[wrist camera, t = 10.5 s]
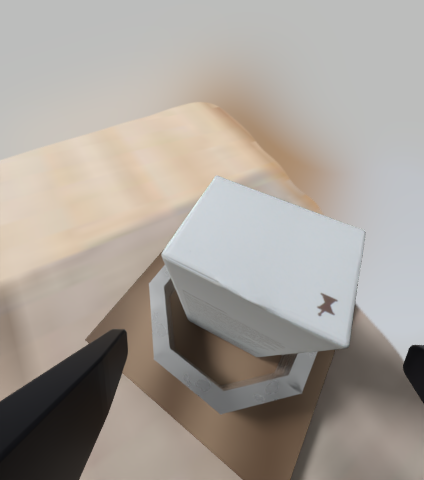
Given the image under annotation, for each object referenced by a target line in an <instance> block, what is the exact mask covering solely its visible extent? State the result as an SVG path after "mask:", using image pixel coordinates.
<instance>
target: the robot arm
mask: <svg viewBox="0 0 424 480" xmlns="http://www.w3.org/2000/svg"><path fill="white" fill-rule="evenodd" d="M127 356H128V341H127V332H126V330H125V329H111V330H110V331H108V332H107V333H105V334H103V335H102V336H100V337H99V338H97V339H96V340H94V341H93V342H91V343H90V344H88V345H87V346H85V347H83V348H82V349H80V350H79V351H77V352H76V353H74V354H73V355H71V356H70V357H68V358H66V359H65V360H63V361H62V362H60V363H59V364H57V365H56V366H54V367H53V368H51V369H49V370H48V371H46V372H45V373H43V374H42V375H40V376H39V377H37V378H36V379H34V380H32V381H31V382H29V383H28V384H26V385H25V386H23V387H22V388H20V389H19V390H17V391H15V392H14V393H12V394H11V395H9V396H8V397H6V398H5V399H3V400H2V401H0V480H79V479H80V476H81V474H82V472H83V470H84V467H85V465H86V463H87V461H88V458H89V456H90V454H91V452H92V449H93V447H94V445H95V443H96V440H97V438H98V436H99V434H100V431H101V429H102V427H103V425H104V422H105V420H106V417H107V415H108V413H109V410H110V407H111V404H112V401H113V398H114V395H115V392H116V389H117V387H118V384H119V381H120V378H121V375H122V372H123V369H124V366H125V363H126V360H127ZM403 370H404V373H405V375H406V376H407V378H408V380H409V381H410V383H411V384H412V386H413V388H414V389H415V391H416V392H417V394H418V395H419V397H420V399H421V400H422V402H423V403H424V345H412V346H411V347H410V348H409V350H408V353H407V356H406V358H405V361H404V364H403Z"/></svg>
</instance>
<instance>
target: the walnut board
mask: <svg viewBox="0 0 424 480" xmlns="http://www.w3.org/2000/svg"><path fill="white" fill-rule="evenodd" d="M162 252H163V251H162ZM162 252H161V253H160V255H159V256H158V257H157V258H156V259H155V260H154V261H153V263H152V264H151V265H150V266H149V267H148V268H147V269H146V271H145V272H144V273H143V274H142V275H141V276H140V277H139V279H138V280H137V281H136V282H135V283H134V284H133V285H132V287H131V288H130V289H129V290H128V291H127V292H126V293H125V295H124V296H123V297H122V298H121V299H120V300H119V302H118V303H117V304H116V305H115V306H114V307H113V308H112V310H111V311H110V312H109V313H108V314H107V315H106V316H105V318H104V319H103V320H102V321H101V322H100V323H99V324H98V326H97V327H96V328H95V329H94V330H93V331H92V332H91V334H90V335H89V336H88V337H87V338H86V339H85V340H86V341H87V342H88V343H89V344H90V343H91V342H93V341H94V340H96V339H97V338H99V337H100V336H102V335H103V334H105V333H107V332H108V331H110V330H111V329H125V330H126V332H127V341H128V356H127V360H126V363H125V366H124V369H123V372H122V373H123V374H124V375H125V376H126V377H128V378H129V379H130V380H131V381H132V382H133V383H134V384H135V385H137V386H138V387H139V388H140V389H141V390H142V391H143V392H145V393H146V394H147V395H148V396H149V397H150V398H151V399H152V400H154V401H155V402H156V403H157V404H158V405H159V406H160V407H161V408H163V409H164V410H165V411H166V412H167V413H168V414H169V415H171V416H172V417H173V418H174V419H175V420H176V421H177V422H178V423H180V424H181V425H182V426H183V427H184V428H185V429H186V430H187V431H189V432H190V433H191V434H192V435H193V436H194V437H195V438H196V439H198V440H199V441H200V442H201V443H202V444H203V445H204V446H206V447H207V448H208V449H209V450H210V451H211V452H212V453H213V454H215V455H216V456H217V457H218V458H219V459H220V460H221V461H222V462H224V463H225V464H226V465H227V466H228V467H229V468H230V469H232V470H233V471H234V472H235V473H236V474H237V475H238V476H239V477H241V478H242V479H243V480H290V479H291V476H292V473H293V470H294V467H295V464H296V461H297V459H298V456H299V453H300V450H301V447H302V444H303V441H304V438H305V436H306V433H307V430H308V427H309V424H310V421H311V418H312V416H313V413H314V410H315V407H316V404H317V401H318V398H319V395H320V393H321V390H322V387H323V384H324V381H325V378H326V375H327V372H328V370H329V367H330V364H331V361H332V358H333V355H334V352H335V350H326V351H318V352H317V355H316V357H315V360H314V362H313V365H312V368H311V370H310V373H309V375H308V378H307V381H306V383H305V386H304V389H303V391H302V394H298V395H294V396H290V397H286V398H282V399H278V400H274V401H270V402H267V403H263V404H259V405H255V406H251V407H247V408H243V409H240V410H236V411H232V412H228V413H224V414H222V415H221V414H219V413H218V412H217V411H216V410H215V409H213V408H212V407H211V406H210V405H209V404H207V403H206V402H205V401H204V400H203V399H201V398H200V397H199V396H198V395H197V394H195V393H194V392H193V391H192V390H190V389H189V388H188V387H187V386H186V385H184V384H183V383H182V382H181V381H180V380H178V379H177V378H176V377H175V376H173V375H172V374H171V373H170V372H169V371H167V370H166V369H165V368H164V367H163V366H161V365H160V364H159V363H158V362H157V361H155V360H154V353H153V337H152V322H151V306H150V291H149V283H150V282H151V281H152V279H153V278H154V277H155V276H156V275H157V273H158V272H159V271H160V270H161V269H162V267H163V266H164V265H165V263H164V261H163V258H162V256H161V254H162ZM357 286H358V285H357ZM170 304H171V314H172V323H173V332H174V342H175V350H176V351H177V352H178V353H180V354H181V355H182V356H184V357H185V358H186V359H187V360H189V361H190V362H191V363H192V364H194V365H195V366H196V367H197V368H199V369H200V370H201V371H203V372H204V373H205V374H206V375H208V376H209V377H210V378H211V379H213V380H214V381H215V382H217V383H218V384H219V385H220V386H221V385H225V384H230V383H234V382H238V381H242V380H246V379H250V378H254V377H258V376H263V375H267V374H271V373H275V371H276V368H277V366H278V364H279V362H280V360H281V357H282V355H274V356H266V357H255V356H253V355H251V354H250V353H248V352H246V351H244V350H242V349H240V348H238V347H237V346H235V345H233V344H231V343H229V342H227V341H225V340H223V339H222V338H220V337H218V336H216V335H214V334H212V333H211V332H209V331H207V330H205V329H203V328H201V327H199V326H198V325H196V324H194V323H192V322H190V321H189V320H188V319H187V316H186V314H185V311H184V309H183V306H182V304H181V301H180V299H179V297H178V294H177V292H176V290H175V291H174V292H173V294H172V295H171V296H170Z"/></svg>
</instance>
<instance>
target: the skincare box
mask: <svg viewBox="0 0 424 480" xmlns="http://www.w3.org/2000/svg"><path fill="white" fill-rule="evenodd" d="M364 241H365V231H364V230H362V229H360V228H357V227H354V226H351V225H349V224H346V223H343V222H340V221H337V220H335V219H332V218H329V217H327V216H324V215H321V214H319V213H316V212H313V211H310V210H308V209H305V208H302V207H300V206H297V205H294V204H292V203H289V202H286V201H284V200H281V199H278V198H276V197H273V196H270V195H268V194H265V193H262V192H259V191H257V190H254V189H251V188H249V187H246V186H243V185H241V184H238V183H235V182H233V181H230V180H227V179H225V178H222V177H220V176H215V177H214V179H213V180H212V182H211V183H210V185H209V186H208V188H207V189H206V190H205V192H204V193H203V195H202V196H201V198H200V199H199V200H198V202H197V203H196V205H195V206H194V207H193V209H192V210H191V212H190V213H189V215H188V216H187V217H186V219H185V220H184V222H183V223H182V224H181V226H180V227H179V229H178V230H177V232H176V233H175V234H174V236H173V237H172V239H171V240H170V242H169V243H168V245H167V246H166V247H165V249H164V250H163V252H162V254H161V256H162V258H163V261H164V263H165V266H166V268H167V271H168V273H169V275H170V277H171V280H172V282H173V285H174V287H175V289H176V292H177V294H178V297H179V299H180V301H181V304H182V306H183V309H184V311H185V314H186V316H187V319H188V320H189V321H190V322H192V323H194V324H196V325H198V326H199V327H201V328H203V329H205V330H207V331H209V332H211V333H212V334H214V335H216V336H218V337H220V338H222V339H223V340H225V341H227V342H229V343H231V344H233V345H235V346H237V347H238V348H240V349H242V350H244V351H246V352H248V353H250V354H251V355H253V356H255V357H266V356H274V355H284V354H295V353H305V352H317V351H326V350H335V349H343V348H347V347H349V345H350V337H351V330H352V322H353V314H354V307H355V300H356V292H357V285H358V279H359V273H360V267H361V262H362V256H363V249H364Z"/></svg>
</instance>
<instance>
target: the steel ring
mask: <svg viewBox="0 0 424 480" xmlns="http://www.w3.org/2000/svg"><path fill="white" fill-rule="evenodd" d="M175 290H176V289H175V287H174V285H173V282H172V280H171V277H170V275H169V273H168V271H167V268H166V266H165V265H164V266H163V267H162V269H161V270H160V271H159V272H158V273H157V275H156V276H155V277H154V278H153V279H152V281H151V282H150V283H149V291H150V306H151V322H152V337H153V353H154V360H155V361H157V362H158V363H159V364H160V365H161V366H163V367H164V368H165V369H166V370H167V371H169V372H170V373H171V374H172V375H173V376H175V377H176V378H177V379H178V380H180V381H181V382H182V383H183V384H184V385H186V386H187V387H188V388H189V389H190V390H192V391H193V392H194V393H195V394H197V395H198V396H199V397H200V398H201V399H203V400H204V401H205V402H206V403H207V404H209V405H210V406H211V407H212V408H213V409H215V410H216V411H217V412H218V413H219V414H221V415H222V414H224V413H228V412H232V411H236V410H240V409H243V408H247V407H251V406H255V405H259V404H263V403H267V402H270V401H274V400H278V399H282V398H286V397H290V396H294V395H298V394H302V391H303V389H304V386H305V383H306V381H307V378H308V375H309V373H310V370H311V368H312V365H313V362H314V360H315V357H316V355H317V352H318V351H317V352H305V353H295V354H284V355H282V357H281V360H280V362H279V364H278V366H277V368H276V371H275V373H271V374H267V375H263V376H258V377H254V378H250V379H246V380H242V381H238V382H234V383H230V384H225V385H221V386H220V385H219V384H218V383H217V382H215V381H214V380H213V379H211V378H210V377H209V376H208V375H206V374H205V373H204V372H203V371H201V370H200V369H199V368H197V367H196V366H195V365H194V364H192V363H191V362H190V361H189V360H187V359H186V358H185V357H184V356H182V355H181V354H180V353H178V352H177V351H176V350H175V342H174V332H173V323H172V314H171V304H170V296H171V295H172V294H173V292H174V291H175Z"/></svg>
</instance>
